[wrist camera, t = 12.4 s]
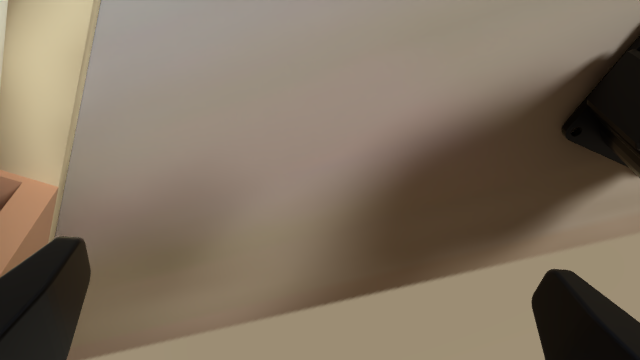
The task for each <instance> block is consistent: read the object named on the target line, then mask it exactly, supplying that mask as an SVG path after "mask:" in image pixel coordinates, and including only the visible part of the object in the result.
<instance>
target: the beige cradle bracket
mask: <svg viewBox="0 0 640 360" xmlns="http://www.w3.org/2000/svg"><path fill="white" fill-rule="evenodd" d="M7 7H8V0H0V87H1V75H2V64H3V52H4V41H5V30H6V18H7Z"/></svg>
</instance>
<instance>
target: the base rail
mask: <svg viewBox="0 0 640 360" xmlns="http://www.w3.org/2000/svg"><path fill="white" fill-rule="evenodd" d="M100 2H101V0H8V7H7V18H6V30H5V41H4V52H3V64H2V75H1V87H0V170H3V171H6V172H9V173H13V174H16V175H20V176H23V177H26V178H30V179H33V180H37V181H40V182H43V183H47V184H50V185H53V186H57V187H59V188H58V193H57V198H56V204H55V209H54V214H53V220H52V225H51V230H50V236H49V241H48V243H49V242H51V241H52V240H53V239H54V237H55V232H56V227H57V222H58V217H59V212H60V207H61V202H62V197H63V191H64V186H65V181H66V176H67V171H68V166H69V161H70V156H71V151H72V145H73V140H74V135H75V130H76V125H77V120H78V115H79V110H80V105H81V99H82V94H83V89H84V84H85V79H86V74H87V69H88V64H89V58H90V53H91V48H92V43H93V38H94V33H95V28H96V23H97V18H98V12H99V7H100Z"/></svg>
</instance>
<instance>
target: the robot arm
mask: <svg viewBox="0 0 640 360" xmlns="http://www.w3.org/2000/svg"><path fill="white" fill-rule="evenodd" d="M576 127H577V129H576V130H575V131H574V132H571V131H572V130H573V129H574V128H576ZM562 134H563V135H564V136H565V137H566V138H567V139H568V140H570V141H572V142H574V143H576V144H578V145H581V146H583V147H585V148H587V149H590V150H592V151H594V152H596V153H598V154H601V155H603V156H605V157H607V158H609V159H612V160H614V161H616V162H618V163H621V164H623V165H625V166H627V167H629V168H630V169H631V170H632V171H633V172H634V173H635V174H636V175H637V176H638V177H639V178H640V36H639V37H638V39H637V40H636V41H635V42H634V43H633V44H632V46H631V47H630V48H629V49H628V50H627V51H626V53H625V54H624V55H623V56H622V57H621V58H620V60H619V61H618V62H617V63H616V64H615V65H614V67H613V68H612V69H611V70H610V71H609V72H608V74H607V75H606V76H605V77H604V78H603V79H602V81H601V82H600V83H599V84H598V85H597V86H596V88H595V89H594V90H593V91H592V92H591V93H590V95H589V96H588V97H587V98H586V99H585V100H584V102H583V103H582V104H581V105H580V106H579V107H578V109H577V110H576V111H575V112H574V113H573V114H572V116H571V117H570V118H569V119H568V120H567V121H566V123H565V124H564V125H563V127H562ZM90 274H91V270H90V264H89V260H88V255H87V250H86V245H85V242H84V240H83V239H82V238H79V237H63V236H61V237H57V238H55V239H54V240H52V241H51V242H49V243H48V244H46V245H45V246H44V247H42V248H41V249H39V250H38V251H37V252H35V253H34V254H32V255H31V256H30V257H28V258H27V259H25V260H24V261H23V262H21V263H20V264H18V265H17V266H15V267H14V268H13V269H11V270H10V271H8V272H7V273H6V274H4V275H3V276H1V277H0V360H66V359H67V356H68V353H69V350H70V347H71V343H72V340H73V336H74V333H75V329H76V326H77V323H78V319H79V316H80V312H81V309H82V305H83V302H84V299H85V295H86V292H87V288H88V285H89V281H90ZM532 309H533V313H534V317H535V321H536V324H537V329H538V333H539V336H540V340H541V344H542V348H543V352H544V356H545V360H640V323H639V322H638V321H637V320H635V319H634V318H633V317H632V316H630V315H629V314H628V313H626V312H625V311H624V310H622V309H621V308H620V307H618V306H617V305H616V304H614V303H613V302H612V301H610V300H609V299H608V298H607V297H605V296H604V295H602V294H601V293H600V292H599V291H597V290H596V289H595V288H593V287H592V286H591V285H589V284H588V283H587V282H586V281H584V280H583V279H582V278H580V277H579V276H578V275H576V274H575V273H574V272H572V271H568V270H559V269H551V270H549V271H548V272H547V273H546V274H545V276H544V277H543V279H542V281H541V282H540V284H539V286H538V287H537V289H536V291H535V292H534V294H533V297H532Z"/></svg>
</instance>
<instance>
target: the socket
mask: <svg viewBox="0 0 640 360" xmlns="http://www.w3.org/2000/svg"><path fill="white" fill-rule="evenodd" d="M58 188H59V187H57V186H53V185H50V184H47V183H43V182H40V181H37V180H33V179H30V178H26V177H23V176H20V175H16V174H13V173H9V172H6V171H3V170H0V277H1V276H3V275H4V274H6V273H7V272H8V271H10V270H11V269H13V268H14V267H15V266H17V265H18V264H20V263H21V262H23V261H24V260H25V259H27V258H28V257H30V256H31V255H32V254H34V253H35V252H37V251H38V250H39V249H41V248H42V247H44V246H45V245H46V244H48V241H49V236H50V230H51V225H52V220H53V214H54V209H55V204H56V198H57V193H58Z"/></svg>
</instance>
